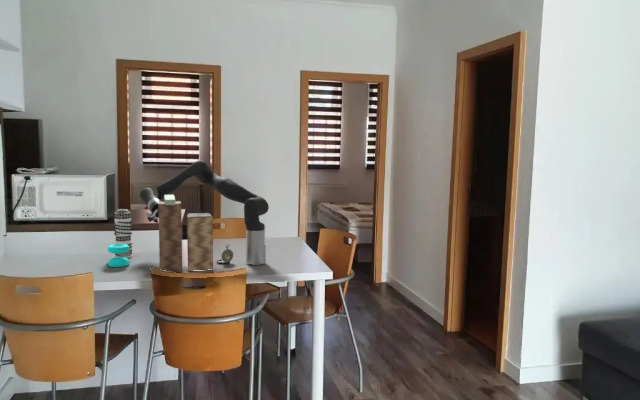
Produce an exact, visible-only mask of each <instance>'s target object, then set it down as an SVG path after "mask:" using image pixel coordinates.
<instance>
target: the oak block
mask: <svg viewBox="0 0 640 400" xmlns="http://www.w3.org/2000/svg"><path fill="white" fill-rule="evenodd" d="M213 223H214V217H213V216H212V215H211V213H210V212H198V213H197V212H195V213H193V212H192V213H191V212H190V213H187V215H186V234H187V235H186V236H187V237H186V238H187V247H186V248H187V269H188V268H189V269H188V272H189V271H193V270H208V269H213V270H214V226H213V225H214V224H213Z"/></svg>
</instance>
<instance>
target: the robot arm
mask: <svg viewBox="0 0 640 400" xmlns="http://www.w3.org/2000/svg"><path fill="white" fill-rule="evenodd" d="M192 177H195V179H197V180H198V181H199V182H200V183H202V184H205V185H207V186H209V187H211V188H212V189H213V190H215V191H216V192H217V193H218V194H220V195H221V196H223V197H224V198H226V199H228V200H230V201H233V202H237V203H239V204H240V203H241V204H243V205H244V206H243V216H244V217H243V219H244V225H245V228H246V229H245V234H246V235H245V236H246V237H245V238H246V239H245V242H246V243H245V247H246V249H245V255H246V257H245V258H246V259H245V262H246V263H247V265H249V264H252V265H251V266H259V265H260V264H261V265H266V262H267V260H266V258H267V257H266V256H267V253H266V249H267V247H266V244H265V242H266V241H265V239H266V238H265V237H266V236H265V235H266V234H265V233H266V226H265V223H263V222H261V221H260V216H263V215H265V214H267V213H268V211H269V208H270V207H269V203H268V202H267V200H266V199H265V198H264V197H262V196H259V195H258V194H255V193H253V192H252V191H249V190H248V189H246V188H245V187H243V186H241V185H239V184H238V182H235V181H234V180H233V179H230V178H228V177H226V176H225V177H223V176H220V175H219V174H217V173H215V172H214V171H213V170H212V169H211V168H210V166H209V165H208V164H207V162H206V161H204V160H202V159H201V160H200V159H199V160H197V161H195V162H192V164H190V165H188V166H187V167H186V168H185V169H183V170H181V171H180V172H179V173H178V174H176V175H174V176H173V177H171V178H170V179H167V180H166V181H163V182H162V183H160V184H158V185H157V186H156V192H157V193H158V194H155V192H154V191H153V189H152V188H150V187H145V188H143V189H141V190H140V192H139V198H140V199H141V201H143V203H144V204H145V205H146V207H147V208H148V210H149V212H150V213H149V212H146V213H145V216H146V219H147V221H148V222H149V223H150V222H153V223H156V224H159V205H158V203H159V202H163V201H162V200H164V195H172V194H174V193H175V192H176V191H177V190H179V189H180V187H181V186H182V185H183V184H184V183H185V182H186V180H189V179H190V178H192ZM246 263H245V264H246Z"/></svg>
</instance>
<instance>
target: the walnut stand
mask: <svg viewBox="0 0 640 400" xmlns="http://www.w3.org/2000/svg"><path fill="white" fill-rule="evenodd" d="M158 205H159V218H158V242H159V243H158V250H159V251H158V252H159V254H158V255H159V270H160V269H161V270H166V271H177V272H176V273H180V271H182V272H183V231H182V230H183V229H182V224H183V223H182V202H181V200H177V201H176V200H175V205H165V201H162V202H159V203H158Z"/></svg>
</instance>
